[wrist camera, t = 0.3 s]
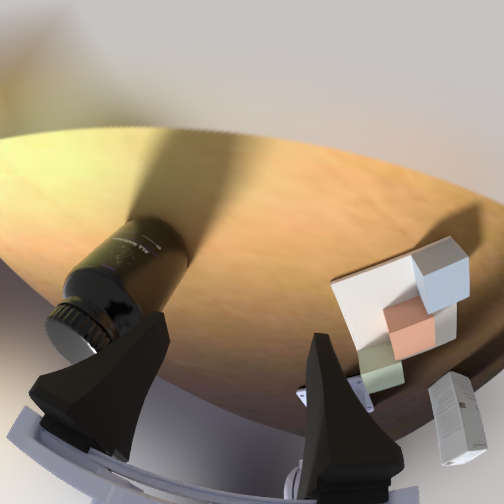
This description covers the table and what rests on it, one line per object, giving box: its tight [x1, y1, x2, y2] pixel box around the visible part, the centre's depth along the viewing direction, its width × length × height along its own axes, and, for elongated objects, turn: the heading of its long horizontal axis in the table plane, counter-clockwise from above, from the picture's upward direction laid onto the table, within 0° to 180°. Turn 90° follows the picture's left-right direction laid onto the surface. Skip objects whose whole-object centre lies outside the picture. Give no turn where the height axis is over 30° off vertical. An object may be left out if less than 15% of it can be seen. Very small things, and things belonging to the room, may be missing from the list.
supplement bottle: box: [44, 217, 188, 365], centre depth 18 cm, size 7×7×12 cm
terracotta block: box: [383, 296, 436, 360], centre depth 21 cm, size 4×4×3 cm
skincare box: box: [429, 371, 488, 466], centre depth 22 cm, size 6×4×12 cm
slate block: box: [411, 238, 469, 314], centre depth 18 cm, size 4×4×3 cm
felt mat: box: [330, 235, 457, 360], centre depth 23 cm, size 13×11×1 cm
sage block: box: [357, 341, 405, 394], centre depth 24 cm, size 4×4×3 cm
